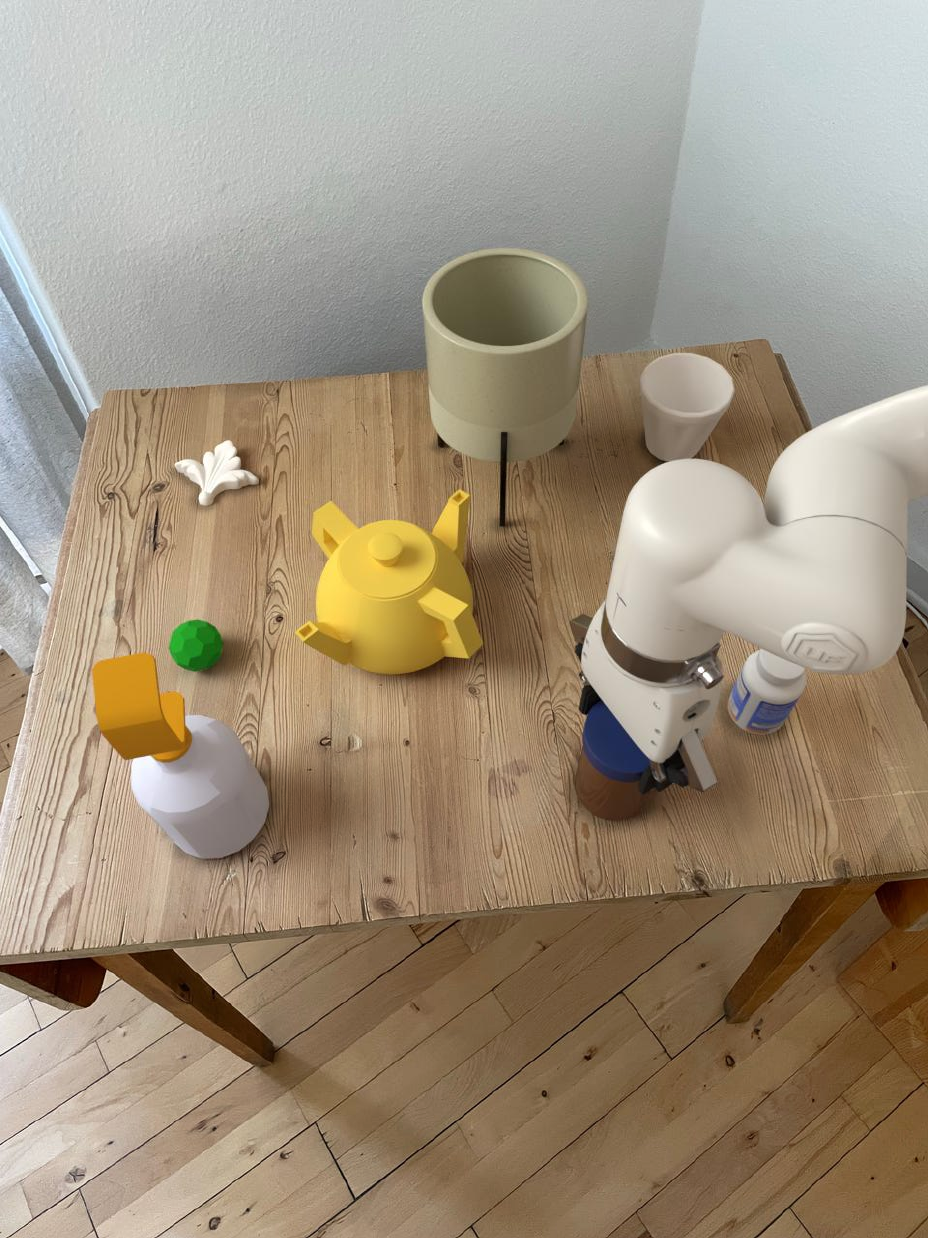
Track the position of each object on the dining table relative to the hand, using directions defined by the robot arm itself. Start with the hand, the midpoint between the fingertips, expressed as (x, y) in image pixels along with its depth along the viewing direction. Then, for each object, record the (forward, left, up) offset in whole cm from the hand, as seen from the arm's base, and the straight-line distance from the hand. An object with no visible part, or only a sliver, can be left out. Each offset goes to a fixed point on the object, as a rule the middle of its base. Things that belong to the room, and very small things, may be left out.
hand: (625, 742), depth 70 cm
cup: (0, -43, -9) cm, 44 cm away
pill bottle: (-12, -11, -9) cm, 18 cm away
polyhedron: (+41, -4, -9) cm, 43 cm away
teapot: (+24, -13, -9) cm, 29 cm away
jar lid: (0, 0, +1) cm, 1 cm away
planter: (+18, -35, -9) cm, 40 cm away
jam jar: (0, 0, -9) cm, 9 cm away
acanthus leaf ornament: (+50, -26, -9) cm, 57 cm away
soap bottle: (+33, +11, -9) cm, 36 cm away
